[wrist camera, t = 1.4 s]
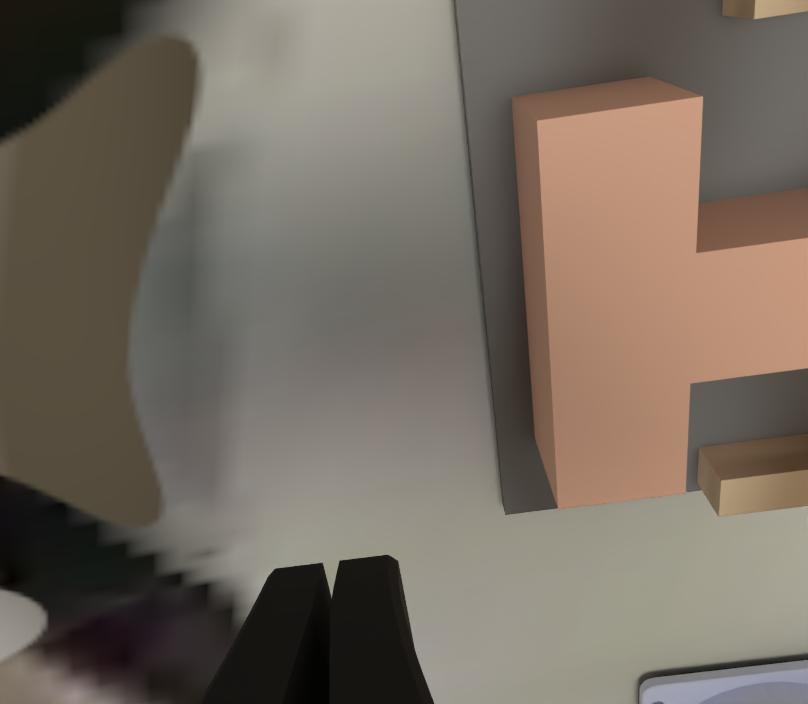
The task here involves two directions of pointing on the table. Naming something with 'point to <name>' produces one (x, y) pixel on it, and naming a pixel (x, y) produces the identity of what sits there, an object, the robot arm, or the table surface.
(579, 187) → the t block
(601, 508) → the table surface
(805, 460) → the t frame
